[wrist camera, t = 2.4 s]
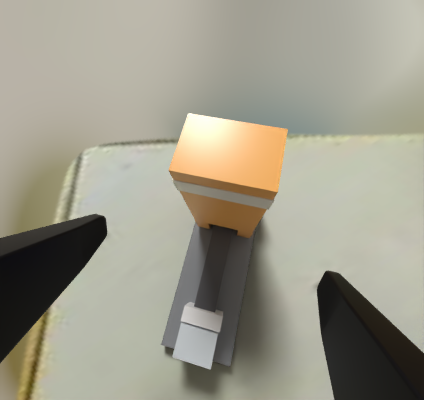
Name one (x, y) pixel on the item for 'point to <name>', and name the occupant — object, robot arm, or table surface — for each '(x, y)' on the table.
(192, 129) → the orange block
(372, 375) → the robot arm
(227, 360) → the grey pronged base
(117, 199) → the table surface
